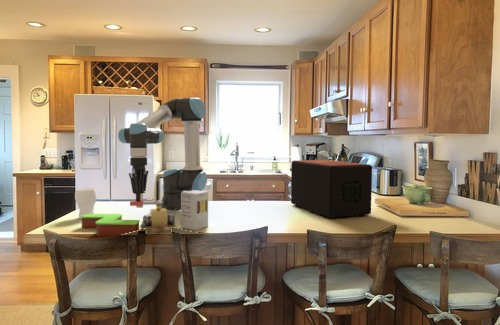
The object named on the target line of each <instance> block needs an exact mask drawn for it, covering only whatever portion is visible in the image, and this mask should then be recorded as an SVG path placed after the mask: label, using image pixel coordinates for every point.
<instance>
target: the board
mask: <svg viewBox="0 0 500 325" xmlns="http://www.w3.org/2000/svg"><path fill="white" fill-rule="evenodd" d="M141 225H142V229H143V228H146V229H147V235H155V234H154V233H159V234H167V233H169V232H170V233H172V232H171V227H177V226H176V223H174V224H171V225H169V224H167V226H156V227H152V226H146V227H145V226H143V220H141ZM170 233H169V234H170Z"/></svg>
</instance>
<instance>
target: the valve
mask: <svg viewBox="0 0 500 325" xmlns="http://www.w3.org/2000/svg"><path fill="white" fill-rule="evenodd" d="M155 206H156V208H150V211H149V212H150V215H145V214H144V215H143V216H142V221H143V226H145V227H146V226H152V227H156V226H167V224H169V225H171V224H176V223H175V222H176V220H175V219H176V216H175V214H174V213H168V209H166V208H161V205H155ZM143 226H142V227H143Z"/></svg>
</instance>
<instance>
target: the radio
mask: <svg viewBox="0 0 500 325" xmlns="http://www.w3.org/2000/svg"><path fill="white" fill-rule="evenodd" d="M290 164H291V167H290V168H291V169H290V170H291V177H290V178H291V180H290V183H291V185H290V188H291V189H290V197H291V198H290V203H291V204H292V205H295V207H300V208H302V209H305V210H308V211H311V212H314V213H316V214H319V215H321V216H324V217H325V218H328V219H329V220H335V218H344V217H354V216H355V217H356V216H358V217H365V216H367V215H370V214H372V189H373V188H372V185H373V184H372V182H373V165H371V164H370V163H369V164H368V163H359V162H349V161H341V160H340V161H339V160H330V159H313V160H312V159H311V160H309V159H308V160H307V159H306V160H292V161H291V163H290Z"/></svg>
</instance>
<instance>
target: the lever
mask: <svg viewBox="0 0 500 325" xmlns="http://www.w3.org/2000/svg"><path fill="white" fill-rule="evenodd" d="M162 204H163V201H162V199H158V200H143V201H136V200H131V201H130V202H129V206H130V207H133V206H134V207H136V206H143V207H144V206H147V205H155V206H156V205H162Z"/></svg>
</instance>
